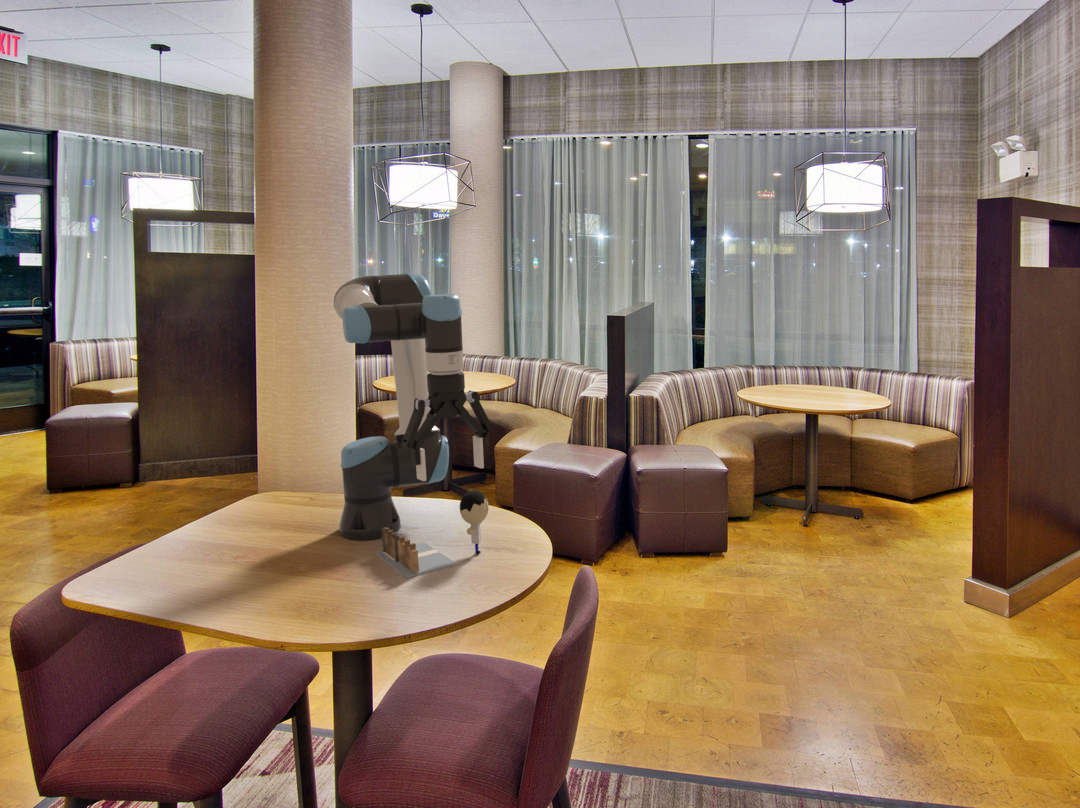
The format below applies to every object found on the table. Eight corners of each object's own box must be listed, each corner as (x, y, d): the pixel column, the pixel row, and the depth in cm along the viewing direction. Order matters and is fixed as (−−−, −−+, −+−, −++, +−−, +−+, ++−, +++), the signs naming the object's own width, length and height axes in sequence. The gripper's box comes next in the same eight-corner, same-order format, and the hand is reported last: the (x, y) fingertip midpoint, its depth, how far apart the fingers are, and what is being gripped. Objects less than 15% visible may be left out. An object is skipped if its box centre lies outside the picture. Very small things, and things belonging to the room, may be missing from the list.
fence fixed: (382, 552, 180) (380, 526, 179) (388, 551, 181) (386, 525, 179) (397, 564, 172) (395, 536, 171) (404, 562, 173) (402, 535, 172)
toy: (485, 561, 172) (481, 497, 169) (457, 560, 173) (453, 496, 171) (495, 547, 180) (492, 486, 178) (468, 546, 182) (464, 485, 179)
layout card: (376, 555, 178) (376, 553, 178) (423, 543, 185) (423, 541, 185) (406, 578, 164) (406, 576, 164) (456, 564, 171) (456, 562, 171)
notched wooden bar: (398, 561, 172) (396, 535, 171) (403, 560, 173) (401, 534, 172) (414, 572, 165) (412, 546, 164) (419, 571, 166) (417, 545, 165)
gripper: (397, 381, 145) (404, 489, 149) (507, 366, 159) (511, 465, 163) (380, 377, 151) (387, 481, 155) (487, 363, 165) (492, 458, 169)
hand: (451, 473), depth 159 cm, fingers open, 13 cm apart
